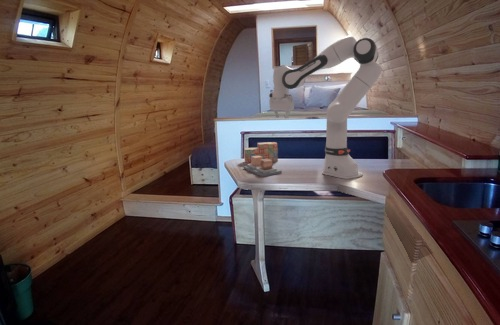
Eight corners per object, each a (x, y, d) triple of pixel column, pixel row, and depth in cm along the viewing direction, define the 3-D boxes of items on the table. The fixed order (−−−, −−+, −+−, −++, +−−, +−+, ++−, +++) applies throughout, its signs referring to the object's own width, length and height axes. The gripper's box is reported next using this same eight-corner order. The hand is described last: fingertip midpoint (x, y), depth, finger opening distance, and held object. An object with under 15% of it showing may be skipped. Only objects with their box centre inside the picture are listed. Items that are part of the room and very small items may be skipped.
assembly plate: (281, 173, 178) (281, 160, 176) (262, 176, 172) (261, 163, 170) (261, 165, 197) (261, 153, 195) (243, 168, 191) (242, 156, 189)
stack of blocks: (245, 163, 203) (245, 145, 200) (244, 161, 209) (243, 143, 206) (278, 161, 206) (277, 143, 203) (275, 159, 212) (275, 141, 209)
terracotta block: (272, 170, 179) (272, 160, 178) (264, 171, 177) (264, 161, 175) (267, 168, 183) (267, 158, 182) (260, 169, 181) (260, 159, 180)
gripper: (296, 93, 178) (296, 118, 181) (275, 94, 195) (276, 116, 198) (287, 94, 175) (288, 119, 178) (267, 94, 192) (268, 117, 195)
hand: (281, 117), depth 188 cm, fingers open, 8 cm apart
